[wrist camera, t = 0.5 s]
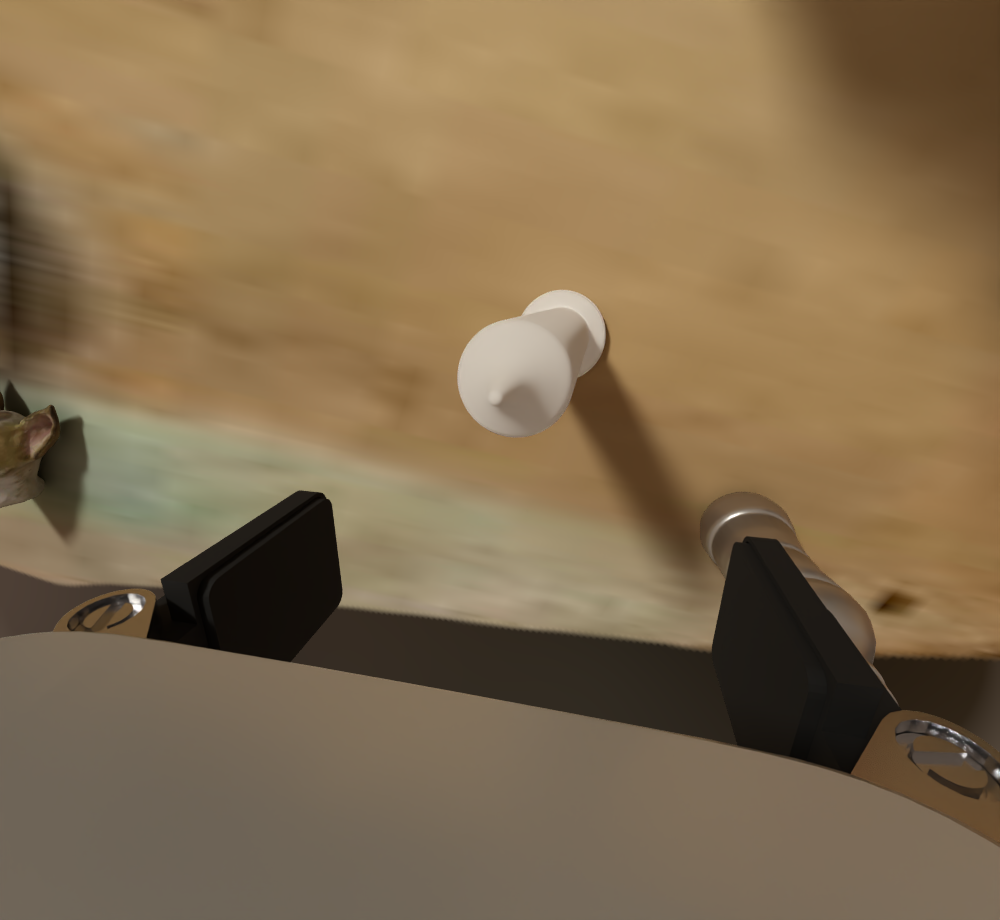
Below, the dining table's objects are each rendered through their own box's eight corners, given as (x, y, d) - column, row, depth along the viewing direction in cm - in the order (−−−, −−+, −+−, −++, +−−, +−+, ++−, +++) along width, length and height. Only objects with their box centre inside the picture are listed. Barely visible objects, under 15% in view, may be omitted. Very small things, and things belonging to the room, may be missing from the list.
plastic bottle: (775, 554, 40) (924, 777, 21) (691, 550, 41) (762, 755, 23) (785, 484, 38) (960, 663, 19) (696, 482, 39) (779, 648, 21)
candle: (624, 326, 36) (663, 377, 13) (568, 397, 39) (519, 542, 16) (552, 270, 36) (464, 224, 13) (501, 345, 39) (352, 417, 16)
